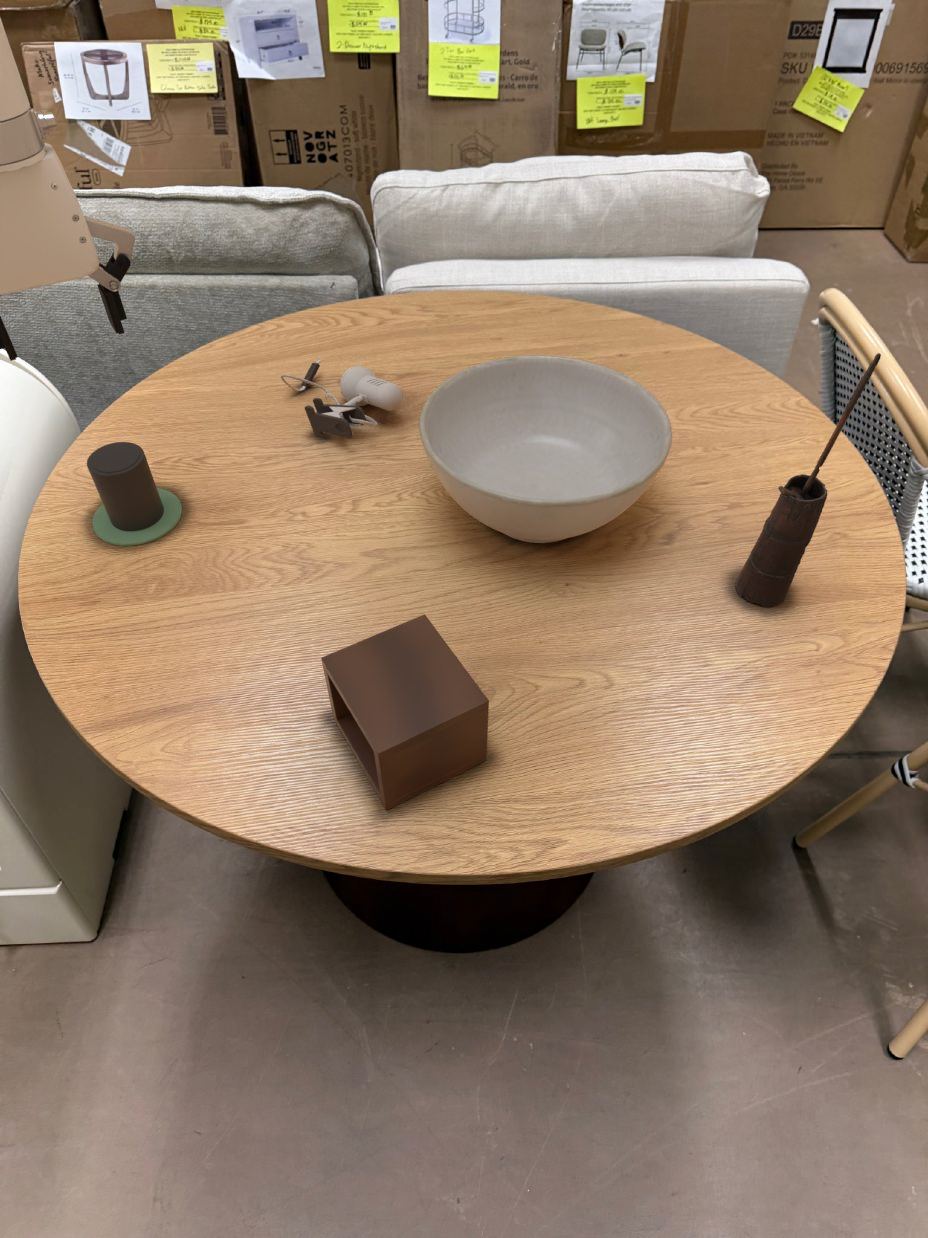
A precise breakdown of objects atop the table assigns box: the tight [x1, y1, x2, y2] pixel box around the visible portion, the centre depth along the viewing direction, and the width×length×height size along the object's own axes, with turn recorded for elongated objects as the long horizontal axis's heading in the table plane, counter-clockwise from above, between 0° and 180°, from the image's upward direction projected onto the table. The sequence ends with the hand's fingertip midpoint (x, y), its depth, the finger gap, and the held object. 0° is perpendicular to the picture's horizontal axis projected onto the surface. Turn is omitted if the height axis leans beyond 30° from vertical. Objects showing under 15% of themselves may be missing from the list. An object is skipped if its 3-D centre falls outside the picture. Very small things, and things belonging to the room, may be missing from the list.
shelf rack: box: [320, 613, 490, 811], centre depth 71 cm, size 10×11×9 cm
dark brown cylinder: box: [86, 441, 164, 531], centre depth 91 cm, size 6×6×8 cm
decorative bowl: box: [418, 354, 673, 544], centre depth 91 cm, size 27×27×12 cm
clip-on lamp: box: [279, 359, 403, 439], centre depth 107 cm, size 12×6×18 cm
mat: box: [91, 487, 183, 547], centre depth 94 cm, size 10×10×1 cm
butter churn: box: [734, 352, 882, 608], centre depth 76 cm, size 9×10×28 cm
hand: (65, 340), depth 77 cm, fingers open, 9 cm apart
